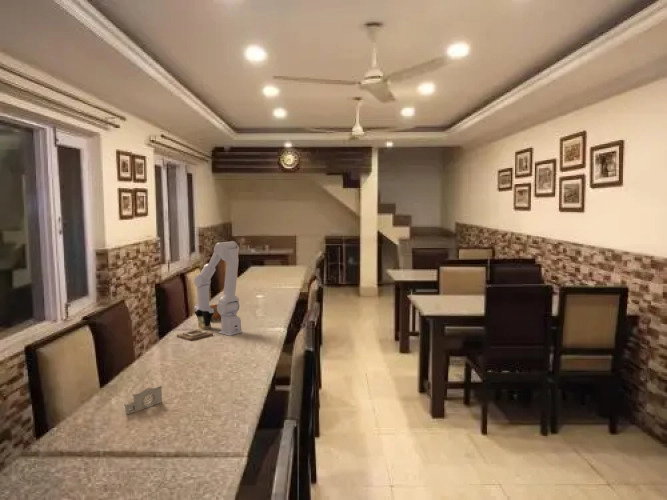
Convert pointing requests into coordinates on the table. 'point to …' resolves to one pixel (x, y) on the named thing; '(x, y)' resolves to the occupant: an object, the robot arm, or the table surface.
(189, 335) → the plate
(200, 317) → the stack
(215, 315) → the tin
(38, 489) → the table surface
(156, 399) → the garden wall model
